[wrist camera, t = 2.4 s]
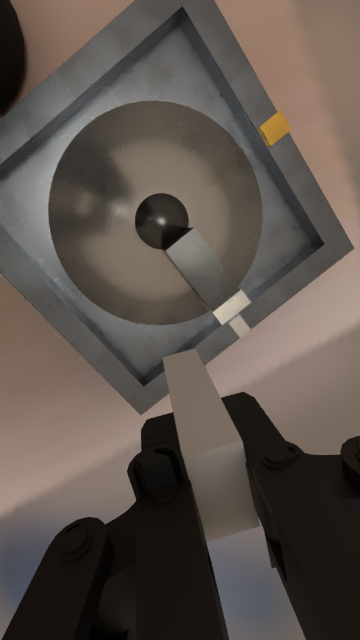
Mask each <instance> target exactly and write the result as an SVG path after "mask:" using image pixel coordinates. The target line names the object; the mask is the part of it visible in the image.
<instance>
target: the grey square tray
mask: <svg viewBox="0 0 360 640" xmlns="http://www.w3.org/2000/svg"><path fill="white" fill-rule="evenodd" d="M139 101H165V102H173V103H177V104H180V105H184V106H187V107H190V108H192V109H194V110H197V111H199V112H201V113H203V114H205V115H206V116H208V117H209V118H211V119H213V120H214V121H215V122H217V123H218V124H219V125H220V126H222V127H223V128H224V129H225V130H226V131H227V132H228V133H229V134H230V135H231V136H232V137H233V138H234V139H235V140H236V142H237V143H238V144H239V146H240V147H241V149H242V150H243V151H244V153H245V155H246V156H247V158H248V160H249V162H250V164H251V166H252V168H253V171H254V173H255V176H256V178H257V182H258V186H259V190H260V194H261V201H262V230H261V237H260V242H259V246H258V250H257V252H256V255H255V258H254V261H253V263H252V265H251V267H250V269H249V271H248V273H247V274H246V276H245V277H244V279H243V280H242V282H241V283H240V285H239V286H238V287H239V288H240V289H241V290H242V291H243V292H244V294H245V295H246V296H247V298H248V299H249V300H250V302H251V303H250V304H249V305H247V306H246V307H245V308H243V309H242V310H241V311H240V312H238V313H237V314H236V315H235V316H233V317H232V318H231V319H229V320H228V321H227V322H226V323H224V324H223V325H222V324H221V323H220V322H219V321H218V320H217V319H216V318H215V317H214V316H213V315H212V314H211V313H210V312H207V313H205V314H203V315H202V316H200V317H197V318H194V319H192V320H189V321H186V322H181V323H177V324H170V325H145V324H139V323H134V322H130V321H127V320H124V319H121V318H119V317H116V316H114V315H112V314H110V313H108V312H106V311H105V310H103V309H101V308H100V307H98V306H97V305H96V304H94V303H93V302H92V301H90V300H89V299H88V298H87V297H86V296H85V295H84V294H83V293H82V292H81V291H80V290H79V289H78V288H77V287H76V286H75V284H74V283H73V282H72V281H71V279H70V278H69V276H68V275H67V273H66V272H65V270H64V268H63V267H62V265H61V263H60V260H59V258H58V256H57V254H56V251H55V248H54V245H53V242H52V238H51V233H50V227H49V216H48V203H49V192H50V188H51V183H52V179H53V175H54V173H55V170H56V167H57V165H58V162H59V160H60V159H61V157H62V155H63V153H64V151H65V149H66V148H67V146H68V145H69V144H70V142H71V141H72V140H73V138H74V137H75V136H76V135H77V134H78V133H79V132H80V131H81V130H82V129H83V128H84V127H85V126H86V125H87V124H89V123H90V122H91V121H93V120H94V119H95V118H97V117H98V116H100V115H102V114H103V113H105V112H107V111H109V110H111V109H113V108H116V107H119V106H122V105H125V104H128V103H134V102H139ZM290 130H291V128H290V126H289V124H288V122H287V121H286V119H285V117H284V115H283V114H282V112H281V110H279V111H278V112H277V111H276V109H275V107H274V105H273V104H272V102H271V100H270V98H269V96H268V95H267V93H266V91H265V89H264V88H263V86H262V84H261V82H260V81H259V79H258V77H257V75H256V73H255V72H254V70H253V68H252V66H251V65H250V63H249V61H248V59H247V58H246V56H245V54H244V52H243V50H242V49H241V47H240V45H239V43H238V42H237V40H236V38H235V36H234V35H233V33H232V31H231V29H230V27H229V26H228V24H227V22H226V20H225V19H224V17H223V15H222V13H221V12H220V10H219V8H218V6H217V4H216V3H215V1H214V0H135V1H134V2H133V3H132V4H131V5H129V6H128V7H127V8H126V9H125V10H124V11H123V12H122V13H120V14H119V15H118V16H117V17H116V18H115V19H114V20H112V21H111V22H110V23H109V24H108V25H107V26H106V27H105V28H103V29H102V30H101V31H100V32H99V33H98V34H97V35H95V36H94V37H93V38H92V39H91V40H90V41H89V42H87V43H86V44H85V45H84V46H83V47H82V48H81V49H80V50H78V51H77V52H76V53H75V54H74V55H73V56H72V57H70V58H69V59H68V60H67V61H66V62H65V63H64V64H62V65H61V66H60V67H59V68H58V69H57V70H56V71H55V72H53V73H52V74H51V75H50V76H49V77H48V78H47V79H45V80H44V81H43V82H42V83H41V84H40V85H39V86H38V87H36V88H35V89H34V90H33V91H32V92H31V93H30V94H28V95H27V96H26V97H25V98H24V99H23V100H22V101H20V102H19V103H18V104H17V105H16V106H15V107H14V108H13V109H11V110H10V111H9V112H8V113H7V114H6V115H5V116H3V117H2V118H1V119H0V273H1V274H2V275H3V276H4V277H5V278H6V279H7V280H8V281H9V282H10V283H11V284H12V285H13V286H14V287H15V288H16V289H17V290H18V291H19V292H20V293H21V294H22V295H23V296H24V297H25V298H26V299H27V300H28V301H29V302H30V303H31V304H32V305H33V306H34V307H35V308H36V309H37V310H38V311H39V312H40V313H41V314H42V315H43V316H44V317H45V318H46V319H47V321H48V322H49V323H50V324H51V325H52V326H53V327H54V328H55V329H56V330H57V331H58V332H59V333H60V334H61V335H62V336H63V337H64V338H65V339H66V340H67V341H68V342H69V343H70V344H71V345H72V346H73V347H74V348H75V349H76V350H77V351H78V352H79V353H80V354H81V355H82V356H83V357H84V358H85V359H86V360H87V361H88V362H89V363H90V364H91V365H92V366H93V367H94V368H95V369H96V370H97V371H98V372H99V373H100V374H101V375H102V376H103V377H104V378H105V379H106V380H107V381H108V382H109V383H110V384H111V385H112V386H113V387H114V388H115V389H116V390H117V391H118V392H119V393H120V394H121V395H122V396H123V398H124V399H125V400H126V401H127V402H128V403H129V404H130V405H131V406H132V407H133V408H134V409H135V410H136V411H137V412H138V413H139V414H140V415H142V414H143V413H144V412H146V411H147V410H148V409H149V408H151V407H152V406H153V405H155V404H156V403H157V402H158V401H160V400H161V399H162V398H164V397H165V396H166V395H167V394H169V388H168V383H167V378H166V373H165V368H164V363H163V359H162V357H165V356H169V355H172V354H176V353H180V352H184V351H188V350H191V349H196V351H197V353H198V355H199V357H200V359H201V361H202V363H203V365H206V364H207V363H208V362H210V361H211V360H212V359H213V358H215V357H216V356H217V355H219V354H220V353H221V352H222V351H224V350H225V349H226V348H227V347H229V346H230V345H231V344H233V343H234V342H235V341H236V340H238V339H239V338H240V339H241V338H242V337H243V336H244V335H246V334H247V333H248V332H250V331H251V329H252V328H253V327H254V326H256V325H257V324H258V323H259V322H261V321H262V320H263V319H265V318H266V317H267V316H268V315H270V314H271V313H272V312H274V311H275V310H276V309H277V308H279V307H280V306H281V305H282V304H284V303H285V302H286V301H288V300H289V299H290V298H291V297H293V296H294V295H295V294H297V293H298V292H299V291H300V290H302V289H303V288H304V287H306V286H307V285H308V284H309V283H311V282H312V281H313V280H314V279H316V278H317V277H318V276H320V275H321V274H322V273H323V272H325V271H326V270H327V269H329V268H330V267H331V266H332V265H334V264H335V263H336V262H337V261H339V260H340V259H341V258H343V257H344V256H345V255H346V254H348V253H349V252H350V251H352V250H353V249H354V247H353V245H352V243H351V242H350V240H349V238H348V236H347V235H346V233H345V231H344V229H343V227H342V226H341V224H340V222H339V220H338V219H337V217H336V215H335V213H334V212H333V210H332V208H331V206H330V204H329V203H328V201H327V199H326V197H325V196H324V194H323V192H322V190H321V189H320V187H319V185H318V183H317V181H316V180H315V178H314V176H313V174H312V173H311V171H310V169H309V167H308V166H307V164H306V162H305V160H304V158H303V157H302V155H301V153H300V151H299V150H298V148H297V146H296V144H295V143H294V141H293V139H292V137H291V135H290V134H289V131H290Z"/></svg>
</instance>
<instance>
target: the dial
mask: <svg viewBox="0 0 360 640" xmlns="http://www.w3.org/2000/svg"><path fill="white" fill-rule="evenodd" d="M48 216H49V227H50V233H51V238H52V242H53V245H54V248H55V251H56V254H57V256H58V258H59V260H60V263H61V265H62V267H63V268H64V270H65V272H66V273H67V275H68V276H69V278H70V279H71V281H72V282H73V283H74V284H75V286H76V287H77V288H78V289H79V290H80V291H81V292H82V293H83V294H84V295H85V296H86V297H87V298H88V299H89V300H90V301H92V302H93V303H94V304H96V305H97V306H98V307H100V308H101V309H103V310H105V311H106V312H108V313H110V314H112V315H114V316H116V317H119V318H121V319H124V320H127V321H130V322H134V323H139V324H145V325H170V324H177V323H181V322H186V321H189V320H192V319H194V318H197V317H200V316H202V315H203V314H205V313H207V312H210V313H211V314H212V315H213V316H214V317H215V318H216V319H217V320H218V321H219V322H220V323H221V324H222V325H223V324H224V323H226V322H227V321H228V320H229V319H231V318H232V317H233V316H235V315H236V314H237V313H238V312H240V311H241V310H242V309H243V308H245V307H246V306H247V305H249V304H250V303H251V302H250V300H249V299H248V298H247V296H246V295H245V294H244V292H243V291H242V290H241V289H240V288H239V287H238V286H239V285H240V283H241V282H242V280H243V279H244V277H245V276H246V274H247V273H248V271H249V269H250V267H251V265H252V263H253V261H254V258H255V255H256V252H257V250H258V246H259V242H260V237H261V230H262V201H261V194H260V190H259V186H258V182H257V178H256V176H255V173H254V171H253V168H252V166H251V164H250V162H249V160H248V158H247V156H246V155H245V153H244V151H243V150H242V149H241V147H240V146H239V144H238V143H237V142H236V140H235V139H234V138H233V137H232V136H231V135H230V134H229V133H228V132H227V131H226V130H225V129H224V128H223V127H222V126H220V125H219V124H218V123H217V122H215V121H214V120H213V119H211V118H209V117H208V116H206V115H205V114H203V113H201V112H199V111H197V110H194V109H192V108H190V107H187V106H184V105H180V104H177V103H173V102H165V101H139V102H134V103H128V104H125V105H122V106H119V107H116V108H113V109H111V110H109V111H107V112H105V113H103V114H102V115H100V116H98V117H97V118H95V119H94V120H93V121H91V122H90V123H89V124H87V125H86V126H85V127H84V128H83V129H82V130H81V131H80V132H79V133H78V134H77V135H76V136H75V137H74V138H73V140H72V141H71V142H70V144H69V145H68V146H67V148H66V149H65V151H64V153H63V155H62V157H61V159H60V160H59V162H58V165H57V167H56V170H55V173H54V175H53V179H52V183H51V188H50V192H49V203H48Z"/></svg>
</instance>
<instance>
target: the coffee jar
mask: <svg viewBox="0 0 360 640" xmlns="http://www.w3.org/2000/svg"><path fill="white" fill-rule="evenodd" d="M23 67H24V40H23V36H22V33H21V29H20V25H19V22H18V18H17V14H16V12H15V10H14V8H13V6H12V4H11V2H10V0H0V109H2V108H3V107H4V106H5V105H6V103H7V102H8V101H9V99H10V98H11V97H12V96H13V94H14V93H15V92H16V90H17V86H18V83H19V80H20V77H21V74H22V71H23Z"/></svg>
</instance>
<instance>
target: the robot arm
mask: <svg viewBox="0 0 360 640" xmlns="http://www.w3.org/2000/svg"><path fill="white" fill-rule="evenodd" d="M162 359H163V363H164V368H165V373H166V378H167V383H168V388H169V393H170V398H171V403H172V408H173V412H172V413H169V414H165V415H162V416H158V417H154V418H151V419H147V420H146V422H145V424H144V425H143V427H142V429H141V441H142V442H141V449H142V451H141V452H140V453H139V454H137V455H136V456H135V457H134V458H133V460H132V461H131V462H130V464H129V467H128V470H127V473H128V476H129V479H130V482H131V485H132V488H133V491H134V494H135V497H136V502H135V503H134V505H132V506H131V507H130V508H129V509H128V510H127V511H126V512H125V513H124V514H122V515H120V516H119V517H117V518H116V519H114V520H112V521H111V522H109V523H107V524H106V525H105V524H104V523H103V522H102V521H101V520H99V519H98V518H93V517H87V518H82V519H79V520H76V521H74V522H73V523H71V524H69V525H67V526H66V527H65V528H64V529H63V530H62V531H60V533H58V534H57V535H56V536H55V538H54V539H53V541H52V542H51V544H50V545H49V547H48V549H47V551H46V553H45V555H44V557H43V559H42V561H41V563H40V565H39V567H38V569H37V571H36V573H35V575H34V577H33V579H32V580H31V582H30V584H29V587H28V589H27V590H26V592H25V594H24V596H23V598H22V600H21V602H20V604H19V606H18V608H17V610H16V613H15V614H14V616H13V618H12V620H11V622H10V624H9V626H8V628H7V630H6V632H5V634H4V636H3V638H2V640H229V637H228V633H227V628H226V624H225V619H224V615H223V610H222V606H221V602H220V597H219V593H218V589H217V584H216V580H215V575H214V571H213V567H212V563H211V559H210V555H209V551H208V548H207V543H206V542H209V541H212V540H215V539H219V538H222V537H225V536H228V535H232V534H235V533H238V532H241V531H245V530H248V529H251V528H255V527H258V526H260V525H259V520H258V517H259V519H260V521H261V524H262V526H263V529H264V532H265V537H266V542H267V547H268V552H269V557H270V562H271V567H272V568H275V567H276V568H277V571H278V573H279V575H280V578H281V580H282V583H283V585H284V588H285V590H286V592H287V595H288V597H289V600H290V602H291V604H292V607H293V609H294V612H295V614H296V616H297V619H298V621H299V624H300V626H301V628H302V631H303V633H304V636H305V638H306V640H360V436H357V437H354V438H351V439H348V440H347V441H346V442H345V443H344V444H342V448H341V451H340V452H341V455H311V454H306V453H304V452H303V451H302V450H301V449H300V448H299V447H298V446H297V445H295V444H293V443H290V442H287V441H285V440H284V438H283V437H282V436H281V434H280V433H279V431H278V430H277V428H276V427H275V426H274V424H273V423H272V422H271V420H270V419H269V417H268V416H267V415H266V414H265V412H264V410H263V409H262V408H261V407H260V405H259V404H258V402H257V401H256V399H255V398H254V397H252V396H250V395H249V394H247V393H245V392H241V393H237V394H233V395H230V396H226V397H223V398H220V396H219V394H218V392H217V390H216V388H215V386H214V384H213V382H212V380H211V378H210V376H209V374H208V372H207V370H206V368H205V367H204V365H203V363H202V361H201V359H200V357H199V355H198V353H197V351H196V349H191V350H188V351H184V352H180V353H176V354H172V355H169V356H165V357H162Z"/></svg>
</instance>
